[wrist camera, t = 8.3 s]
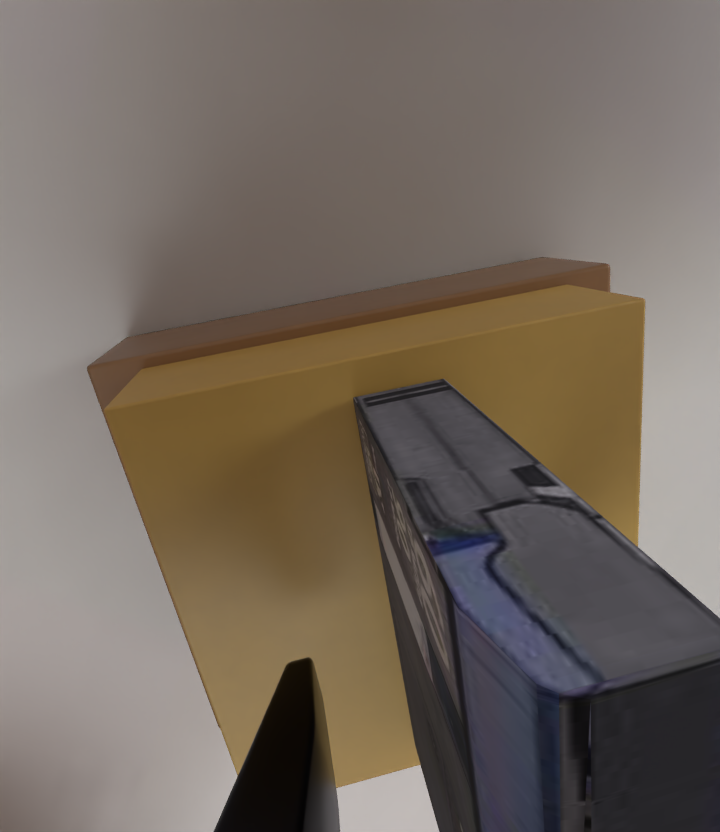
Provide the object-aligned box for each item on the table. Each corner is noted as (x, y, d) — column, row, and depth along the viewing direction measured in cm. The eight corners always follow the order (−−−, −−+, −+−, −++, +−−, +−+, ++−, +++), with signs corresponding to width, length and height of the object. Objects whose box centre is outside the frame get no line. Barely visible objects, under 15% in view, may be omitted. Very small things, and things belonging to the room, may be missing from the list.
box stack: (543, 256, 14) (702, 272, 9) (555, 564, 17) (673, 702, 12) (124, 337, 13) (27, 407, 8) (227, 645, 16) (207, 832, 11)
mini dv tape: (352, 394, 9) (504, 710, 3) (440, 375, 9) (747, 643, 3) (414, 744, 11) (551, 1234, 6) (480, 726, 12) (675, 1189, 6)
